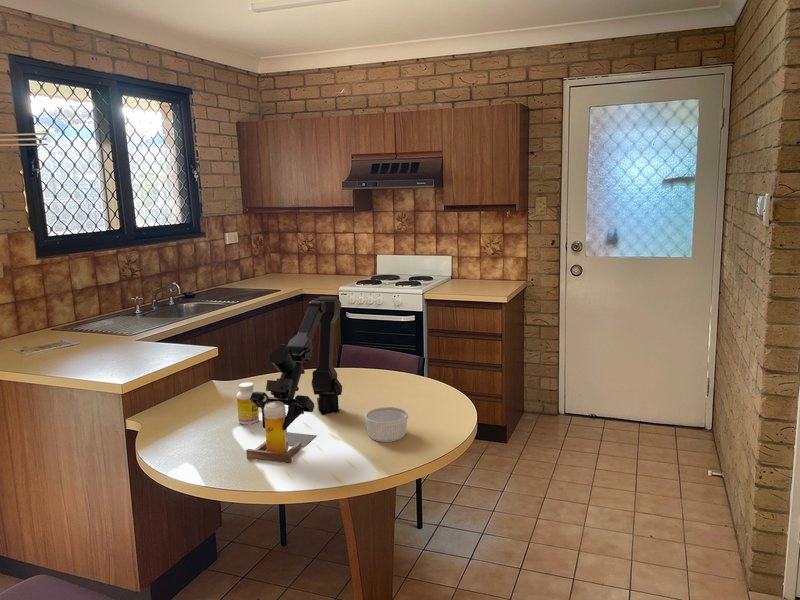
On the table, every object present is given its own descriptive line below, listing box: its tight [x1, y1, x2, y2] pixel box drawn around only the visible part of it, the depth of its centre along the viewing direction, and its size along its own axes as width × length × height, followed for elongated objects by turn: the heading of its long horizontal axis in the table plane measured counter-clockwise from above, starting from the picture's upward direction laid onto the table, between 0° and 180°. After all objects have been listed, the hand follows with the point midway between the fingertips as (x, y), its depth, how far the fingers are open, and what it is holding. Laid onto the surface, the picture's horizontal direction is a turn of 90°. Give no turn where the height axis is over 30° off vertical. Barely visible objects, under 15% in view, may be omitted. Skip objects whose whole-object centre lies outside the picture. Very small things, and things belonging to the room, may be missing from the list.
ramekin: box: [364, 406, 409, 443], centre depth 195 cm, size 13×13×7 cm
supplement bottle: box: [236, 382, 260, 425], centre depth 210 cm, size 7×7×13 cm
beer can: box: [264, 401, 289, 453], centre depth 184 cm, size 6×6×15 cm
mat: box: [287, 431, 317, 448], centre depth 194 cm, size 9×11×1 cm
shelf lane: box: [245, 440, 303, 465], centre depth 184 cm, size 10×14×2 cm
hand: (273, 428), depth 182 cm, fingers closed on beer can, 6 cm apart
